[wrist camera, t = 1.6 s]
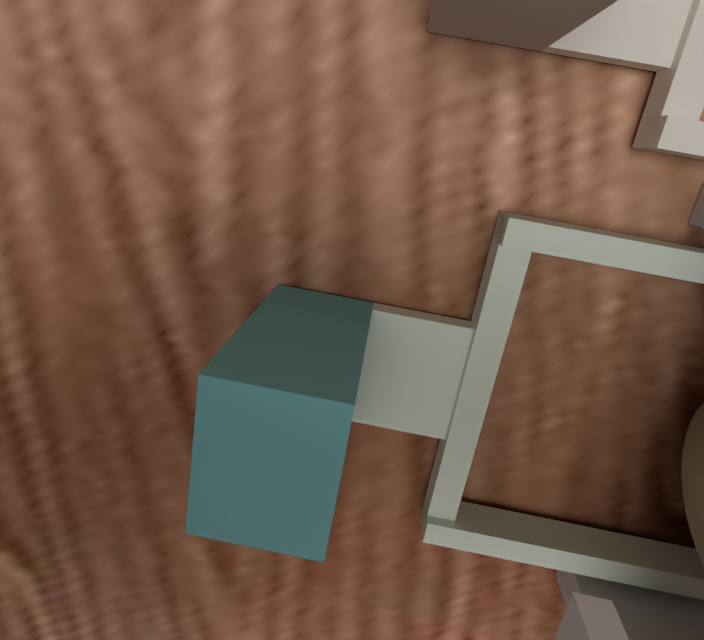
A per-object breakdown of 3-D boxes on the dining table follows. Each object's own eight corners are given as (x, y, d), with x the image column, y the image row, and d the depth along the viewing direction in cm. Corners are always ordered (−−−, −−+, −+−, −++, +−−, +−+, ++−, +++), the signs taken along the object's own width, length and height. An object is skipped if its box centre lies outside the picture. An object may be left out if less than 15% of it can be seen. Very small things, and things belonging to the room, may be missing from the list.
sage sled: (252, 477, 25) (175, 649, 17) (292, 172, 20) (213, 193, 12) (857, 600, 24) (1104, 850, 16) (1039, 310, 20) (1528, 439, 11)
